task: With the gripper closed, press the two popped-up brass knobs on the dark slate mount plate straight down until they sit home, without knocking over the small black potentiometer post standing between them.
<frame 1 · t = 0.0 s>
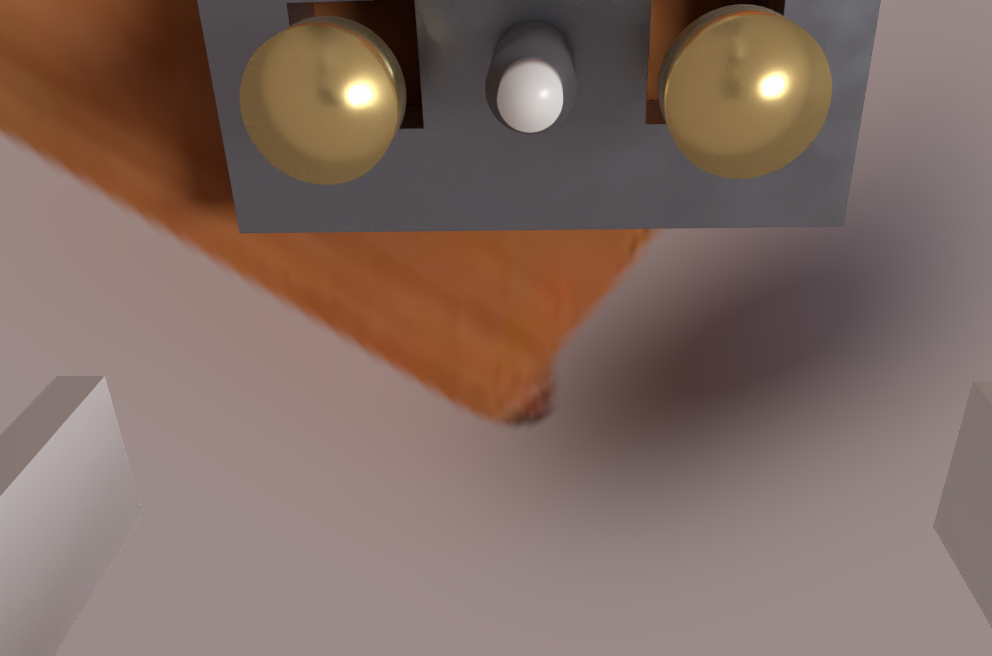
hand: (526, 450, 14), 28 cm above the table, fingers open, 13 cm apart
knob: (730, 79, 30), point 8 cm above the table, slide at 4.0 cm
mount plate: (534, 44, 38), on the table
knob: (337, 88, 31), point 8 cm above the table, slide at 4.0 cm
pot post: (532, 63, 34), point 4 cm above the table, touching mount plate
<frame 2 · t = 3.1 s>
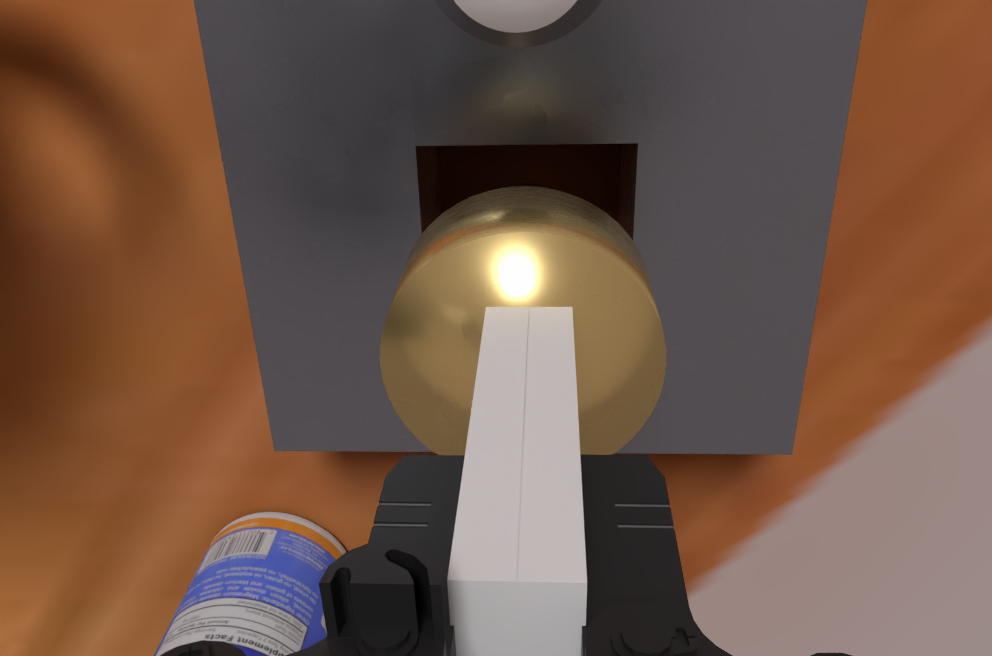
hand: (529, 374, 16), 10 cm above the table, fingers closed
pill bottle: (284, 560, 31), on the table
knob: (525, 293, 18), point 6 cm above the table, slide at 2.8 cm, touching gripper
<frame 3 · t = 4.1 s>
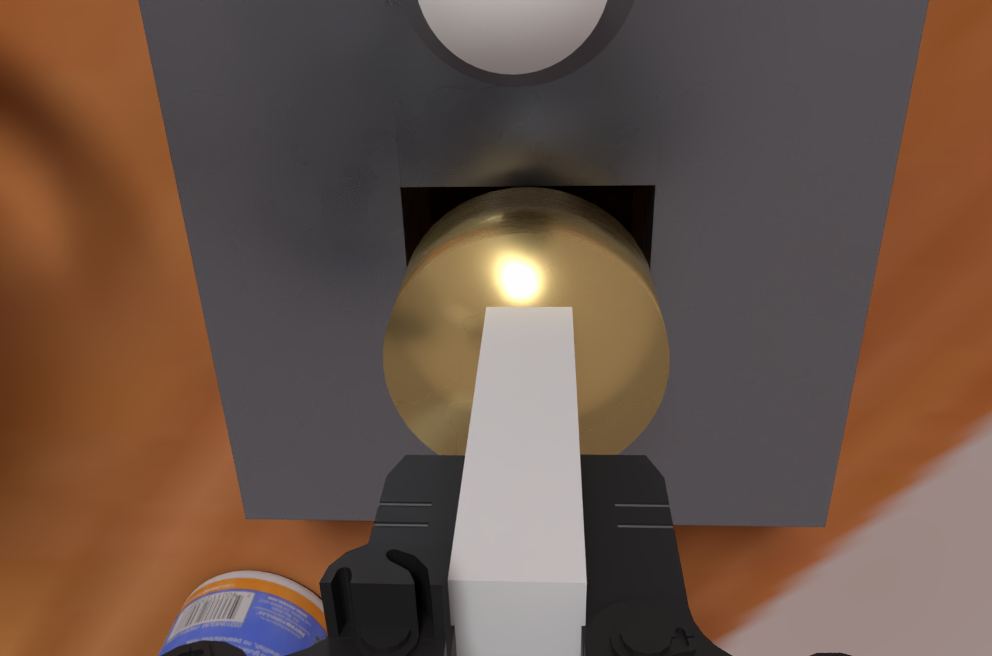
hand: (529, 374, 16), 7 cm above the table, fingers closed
pill bottle: (264, 620, 29), on the table
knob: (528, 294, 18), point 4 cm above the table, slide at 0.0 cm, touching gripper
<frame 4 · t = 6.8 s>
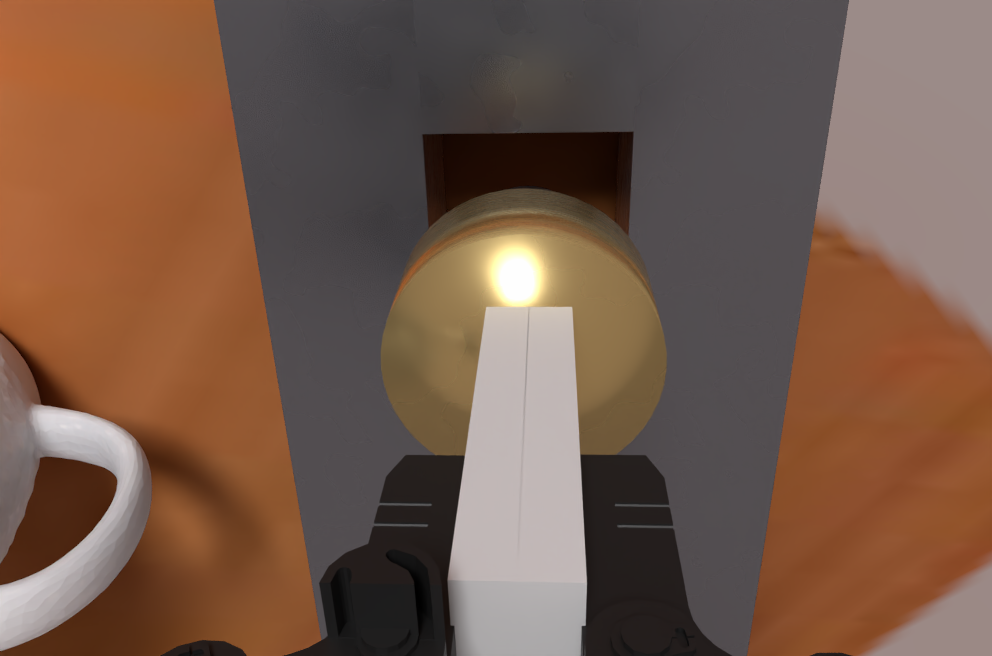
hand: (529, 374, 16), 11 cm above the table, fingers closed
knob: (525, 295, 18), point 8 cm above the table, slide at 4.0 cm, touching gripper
mount plate: (531, 385, 28), on the table
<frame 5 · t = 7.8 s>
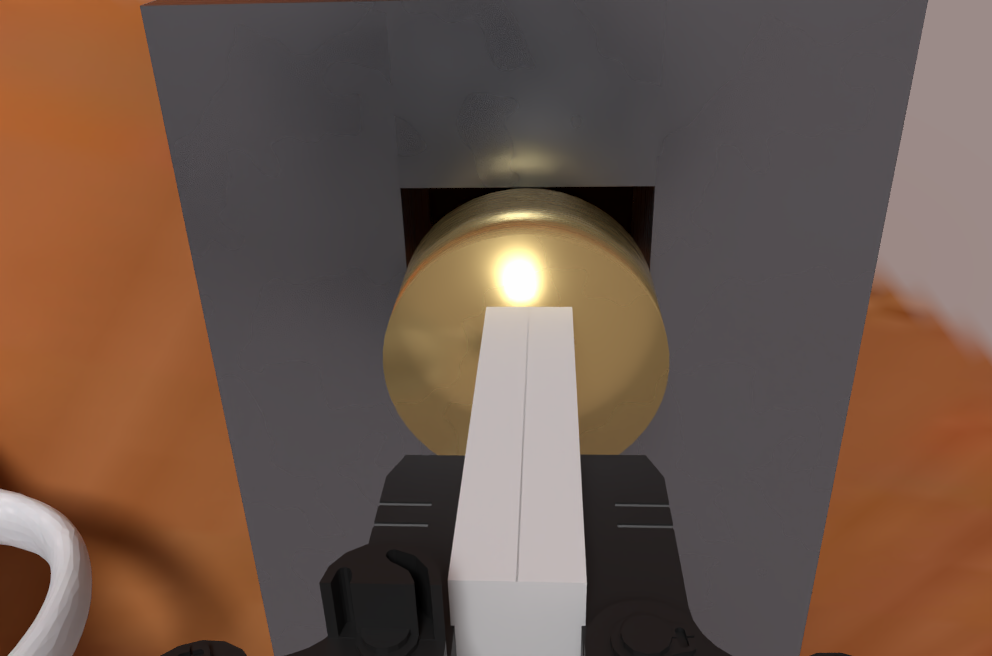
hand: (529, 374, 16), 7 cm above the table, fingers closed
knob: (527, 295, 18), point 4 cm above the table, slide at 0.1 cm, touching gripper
mount plate: (532, 457, 25), on the table
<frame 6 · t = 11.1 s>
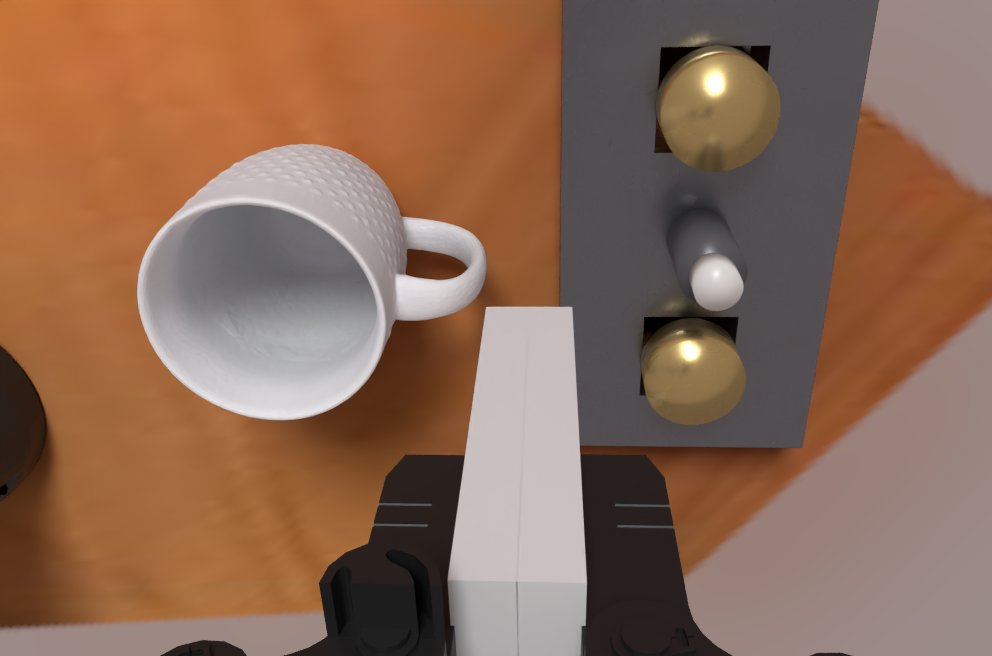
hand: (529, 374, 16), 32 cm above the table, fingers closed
mug: (347, 211, 49), on the table
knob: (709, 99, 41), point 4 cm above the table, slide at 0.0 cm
mount plate: (687, 211, 48), on the table
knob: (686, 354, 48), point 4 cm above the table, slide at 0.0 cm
pot post: (698, 238, 44), point 4 cm above the table, touching mount plate
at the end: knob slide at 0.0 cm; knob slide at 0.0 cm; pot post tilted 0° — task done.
